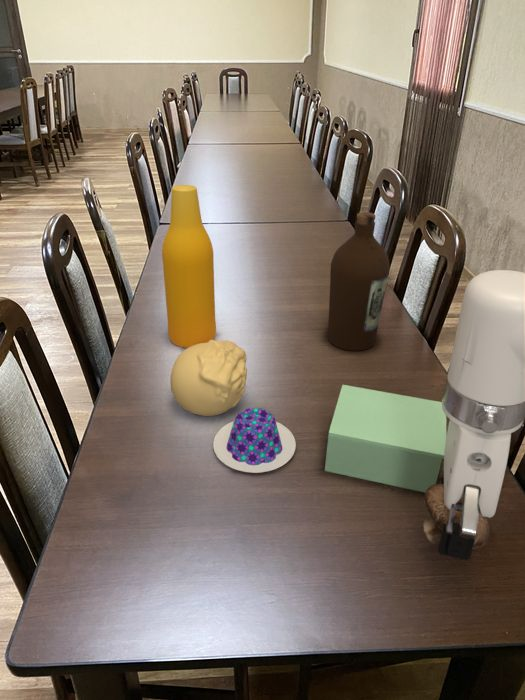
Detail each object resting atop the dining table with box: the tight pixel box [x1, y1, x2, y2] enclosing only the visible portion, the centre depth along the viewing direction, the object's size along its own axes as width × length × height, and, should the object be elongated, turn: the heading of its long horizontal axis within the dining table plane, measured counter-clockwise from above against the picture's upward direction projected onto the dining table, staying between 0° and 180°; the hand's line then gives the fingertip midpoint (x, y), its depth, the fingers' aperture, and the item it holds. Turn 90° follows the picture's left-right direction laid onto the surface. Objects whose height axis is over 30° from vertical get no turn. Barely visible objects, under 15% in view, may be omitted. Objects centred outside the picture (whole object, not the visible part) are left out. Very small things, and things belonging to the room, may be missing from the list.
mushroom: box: [422, 483, 490, 550], centre depth 60 cm, size 8×8×6 cm
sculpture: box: [169, 339, 248, 417], centre depth 84 cm, size 11×12×11 cm
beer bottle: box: [161, 184, 217, 349], centre depth 98 cm, size 9×9×29 cm
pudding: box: [212, 407, 297, 474], centre depth 77 cm, size 12×12×5 cm
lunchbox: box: [324, 436, 443, 494], centre depth 76 cm, size 15×12×6 cm
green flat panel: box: [327, 384, 447, 460], centre depth 74 cm, size 15×12×1 cm
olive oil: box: [327, 211, 390, 352], centre depth 100 cm, size 11×11×25 cm
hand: (452, 524), depth 61 cm, fingers closed on mushroom, 7 cm apart
